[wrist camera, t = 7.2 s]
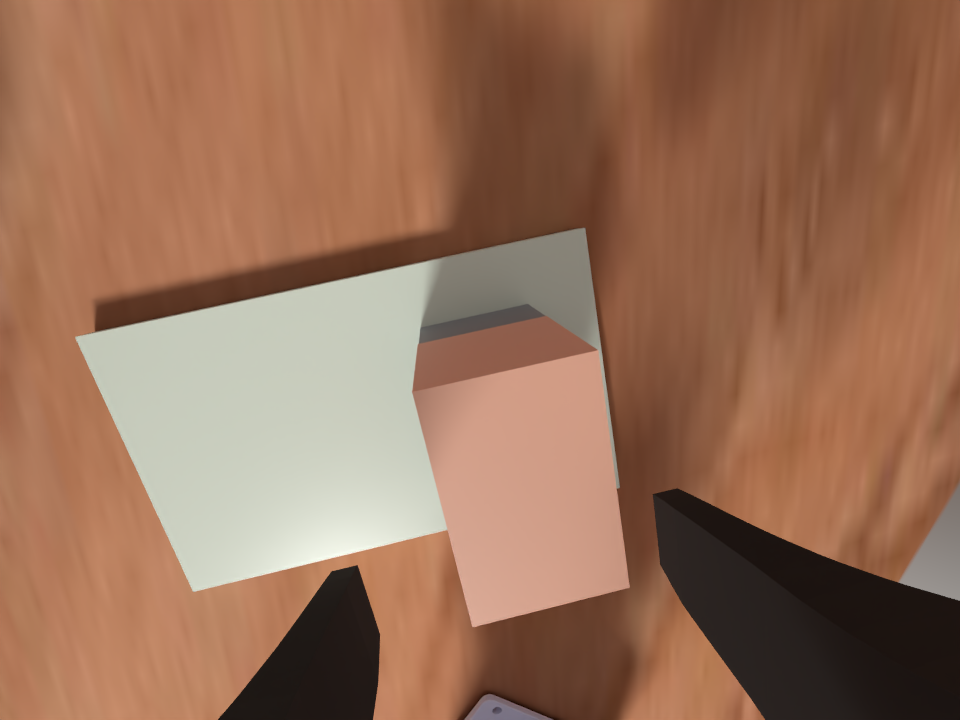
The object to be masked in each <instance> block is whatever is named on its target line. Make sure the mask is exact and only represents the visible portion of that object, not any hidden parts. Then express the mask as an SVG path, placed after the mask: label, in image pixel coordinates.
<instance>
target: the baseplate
mask: <svg viewBox="0 0 960 720" xmlns="http://www.w3.org/2000/svg"><path fill="white" fill-rule="evenodd" d="M525 304H529V305H530V306H532V307H533V308H535V309H536V310H538V311H539V312H541V313H542V314H544V315H545V316H548V317H549V318H551V319H552V320H554V321H555V322H557V323H558V324H560V325H561V326H563V327H564V328H566V329H567V330H569V331H570V332H572V333H573V334H575V335H576V336H578V337H579V338H581V339H582V340H584V341H585V342H587V343H588V344H590V345H591V346H593V347H594V348H596V349H597V350H598V351H599V359H600V366H601V374H602V381H603V389H604V396H605V404H606V412H607V419H608V427H609V434H610V442H611V449H612V457H613V465H614V472H615V480H616V487H617V488H620V485H619V477H618V470H617V462H616V455H615V447H614V440H613V432H612V425H611V417H610V410H609V402H608V395H607V387H606V380H605V372H604V365H603V357H602V350H601V343H600V335H599V328H598V320H597V313H596V305H595V298H594V290H593V283H592V275H591V268H590V260H589V253H588V245H587V238H586V230H585V228H576V229H572V230H567V231H562V232H558V233H553V234H548V235H544V236H539V237H534V238H530V239H525V240H520V241H516V242H511V243H506V244H502V245H497V246H492V247H488V248H483V249H478V250H474V251H469V252H464V253H460V254H455V255H450V256H446V257H441V258H436V259H432V260H427V261H422V262H418V263H413V264H408V265H404V266H399V267H394V268H390V269H385V270H380V271H376V272H371V273H366V274H362V275H357V276H352V277H348V278H343V279H338V280H334V281H329V282H324V283H320V284H315V285H310V286H306V287H301V288H296V289H292V290H287V291H282V292H278V293H273V294H268V295H264V296H259V297H254V298H250V299H245V300H240V301H236V302H231V303H226V304H222V305H217V306H212V307H208V308H203V309H198V310H194V311H189V312H184V313H180V314H175V315H170V316H166V317H161V318H156V319H152V320H147V321H142V322H138V323H133V324H128V325H124V326H119V327H114V328H110V329H105V330H100V331H96V332H92V333H88V334H85V335H81V336H77V337H75V338H76V340H77V342H78V344H79V347H80V349H81V351H82V353H83V355H84V357H85V359H86V362H87V364H88V366H89V368H90V370H91V372H92V375H93V377H94V379H95V381H96V383H97V385H98V387H99V390H100V392H101V394H102V396H103V398H104V400H105V403H106V405H107V407H108V409H109V411H110V413H111V415H112V418H113V420H114V422H115V424H116V426H117V428H118V431H119V433H120V435H121V437H122V439H123V441H124V443H125V446H126V448H127V450H128V452H129V454H130V456H131V459H132V461H133V463H134V465H135V467H136V469H137V472H138V474H139V476H140V478H141V480H142V482H143V484H144V487H145V489H146V491H147V493H148V495H149V497H150V500H151V502H152V504H153V506H154V508H155V510H156V512H157V515H158V517H159V519H160V521H161V523H162V525H163V528H164V530H165V532H166V534H167V536H168V538H169V540H170V543H171V545H172V547H173V549H174V551H175V553H176V556H177V558H178V560H179V562H180V564H181V566H182V568H183V571H184V573H185V575H186V577H187V579H188V581H189V584H190V586H191V588H192V590H193V592H195V591H199V590H203V589H207V588H211V587H215V586H219V585H223V584H227V583H231V582H236V581H240V580H244V579H248V578H252V577H256V576H260V575H264V574H268V573H272V572H277V571H281V570H285V569H289V568H293V567H297V566H301V565H305V564H309V563H313V562H318V561H322V560H326V559H330V558H334V557H338V556H342V555H346V554H350V553H354V552H359V551H363V550H367V549H371V548H375V547H379V546H383V545H387V544H391V543H395V542H400V541H404V540H408V539H412V538H416V537H420V536H424V535H428V534H432V533H436V532H441V531H445V530H447V526H446V522H445V518H444V514H443V510H442V506H441V503H440V499H439V495H438V491H437V487H436V483H435V479H434V475H433V471H432V468H431V464H430V460H429V456H428V452H427V448H426V444H425V440H424V436H423V433H422V429H421V425H420V421H419V417H418V413H417V409H416V405H415V401H414V398H413V394H412V389H413V380H414V372H415V363H416V355H417V346H418V344H419V336H420V328H421V327H426V326H430V325H435V324H439V323H444V322H448V321H453V320H457V319H462V318H466V317H471V316H475V315H480V314H484V313H489V312H494V311H498V310H503V309H507V308H512V307H516V306H521V305H525Z"/></svg>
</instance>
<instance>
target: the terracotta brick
mask: <svg viewBox="0 0 960 720" xmlns="http://www.w3.org/2000/svg"><path fill="white" fill-rule="evenodd" d="M412 394H413V398H414V401H415V405H416V409H417V413H418V417H419V421H420V425H421V429H422V433H423V436H424V440H425V444H426V448H427V452H428V456H429V460H430V464H431V468H432V471H433V475H434V479H435V483H436V487H437V491H438V495H439V499H440V503H441V506H442V510H443V514H444V518H445V522H446V526H447V530H448V534H449V538H450V541H451V545H452V549H453V553H454V557H455V561H456V565H457V569H458V573H459V576H460V580H461V584H462V588H463V592H464V596H465V600H466V604H467V608H468V611H469V615H470V619H471V623H472V627H476V626H480V625H484V624H488V623H492V622H496V621H500V620H504V619H508V618H512V617H515V616H519V615H523V614H527V613H531V612H535V611H539V610H543V609H547V608H551V607H555V606H559V605H563V604H567V603H571V602H575V601H579V600H583V599H587V598H591V597H595V596H599V595H603V594H607V593H611V592H615V591H619V590H622V589H626V588H630V586H629V578H628V571H627V563H626V555H625V548H624V540H623V533H622V525H621V518H620V510H619V502H618V495H617V487H616V480H615V472H614V465H613V457H612V449H611V442H610V434H609V427H608V419H607V412H606V404H605V396H604V389H603V381H602V374H601V366H600V359H599V351H598V350H597V349H596V348H594V347H593V346H591V345H590V344H588V343H587V342H585V341H584V340H582V339H581V338H579V337H578V336H576V335H575V334H573V333H572V332H570V331H569V330H567V329H566V328H564V327H563V326H561V325H560V324H558V323H557V322H555V321H554V320H552V319H551V318H549V317H548V316H543V317H539V318H534V319H530V320H525V321H521V322H516V323H511V324H507V325H502V326H498V327H493V328H489V329H484V330H480V331H475V332H470V333H466V334H461V335H457V336H452V337H448V338H443V339H439V340H434V341H430V342H425V343H420V344H418V346H417V355H416V363H415V372H414V380H413V389H412Z"/></svg>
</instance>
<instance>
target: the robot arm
mask: <svg viewBox="0 0 960 720" xmlns="http://www.w3.org/2000/svg"><path fill="white" fill-rule="evenodd" d="M653 500H654V509H655V518H656V528H657V537H658V547H659V556H660V565H661V566H662V568H663V570H664V572H665V574H666V576H667V577H668V579H669V581H670V583H671V585H672V587H673V588H674V590H675V592H676V593H677V595H678V597H679V599H680V600H681V602H682V604H683V605H684V607H685V608H686V610H687V611H688V612H689V614H690V615H691V617H692V618H693V619H694V621H695V622H696V624H697V625H698V626H699V628H700V629H701V631H702V632H703V633H704V635H705V636H706V638H707V639H708V640H709V642H710V643H711V644H712V646H713V647H714V649H715V650H716V651H717V653H718V654H719V655H720V657H721V658H722V659H723V661H724V662H725V664H726V665H727V666H728V668H729V669H730V670H731V672H732V673H733V675H734V676H735V677H736V679H737V680H738V681H739V683H740V684H741V686H742V687H743V688H744V690H745V691H746V692H747V694H748V695H749V697H750V698H751V699H752V701H753V702H754V704H755V705H756V707H757V708H758V710H759V711H760V712H761V714H762V715H763V717H764V718H765V720H960V601H958V600H955V599H951V598H948V597H945V596H941V595H938V594H934V593H931V592H928V591H924V590H921V589H917V588H914V587H911V586H907V585H904V584H901V583H898V582H895V581H892V580H888V579H885V578H882V577H879V576H876V575H874V574H871V573H868V572H865V571H862V570H860V569H857V568H854V567H851V566H848V565H846V564H843V563H840V562H837V561H835V560H832V559H830V558H827V557H824V556H822V555H819V554H817V553H815V552H812V551H810V550H807V549H805V548H803V547H800V546H798V545H796V544H793V543H791V542H788V541H786V540H784V539H782V538H779V537H777V536H775V535H773V534H770V533H768V532H766V531H764V530H762V529H760V528H758V527H755V526H753V525H751V524H749V523H747V522H745V521H743V520H741V519H739V518H737V517H735V516H733V515H731V514H729V513H727V512H725V511H723V510H721V509H719V508H717V507H715V506H713V505H711V504H709V503H707V502H705V501H703V500H701V499H699V498H696V497H694V496H692V495H690V494H688V493H686V492H684V491H682V490H680V489H673V490H669V491H665V492H660V493H656V494H653ZM379 649H380V633H379V630H378V627H377V624H376V621H375V618H374V614H373V611H372V608H371V605H370V602H369V599H368V596H367V593H366V590H365V587H364V584H363V581H362V578H361V574H360V571H359V568H358V565H357V566H352V567H348V568H344V569H340V570H336V571H332V572H331V573H330V575H329V576H328V577H327V578H326V580H325V581H324V583H323V584H322V585H321V587H320V588H319V590H318V591H317V592H316V594H315V595H314V597H313V598H312V600H311V601H310V602H309V604H308V605H307V607H306V608H305V609H304V611H303V612H302V614H301V615H300V616H299V618H298V619H297V621H296V622H295V623H294V625H293V626H292V627H291V629H290V630H289V631H288V633H287V634H286V636H285V637H284V638H283V640H282V641H281V642H280V644H279V645H278V646H277V648H276V649H275V650H274V652H273V653H272V654H271V655H270V657H269V658H268V659H267V661H266V662H265V663H264V664H263V666H262V667H261V668H260V669H259V671H258V672H257V673H256V674H255V676H254V677H253V678H252V679H251V681H250V682H249V683H248V684H247V686H246V687H245V688H244V689H243V691H242V692H241V693H240V694H239V696H238V697H237V698H236V699H235V700H234V702H233V703H232V704H231V705H230V706H229V707H228V709H227V710H226V711H225V712H224V713H223V714H222V715H221V717H220V718H219V719H218V720H373V715H374V708H375V701H376V694H377V687H378V675H379ZM465 720H553V719H550V718H548V717H546V716H543V715H541V714H538V713H536V712H534V711H531V710H529V709H526V708H524V707H522V706H519V705H517V704H514V703H512V702H510V701H507V700H505V699H502V698H500V697H498V696H495V695H492V694H487V695H484V696H483V697H482V698H481V699H480V700H479V702H478V703H477V704H476V705H475V707H474V708H473V709H472V711H471V712H470V713H469V714H468V716H467V717H466V718H465Z"/></svg>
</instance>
